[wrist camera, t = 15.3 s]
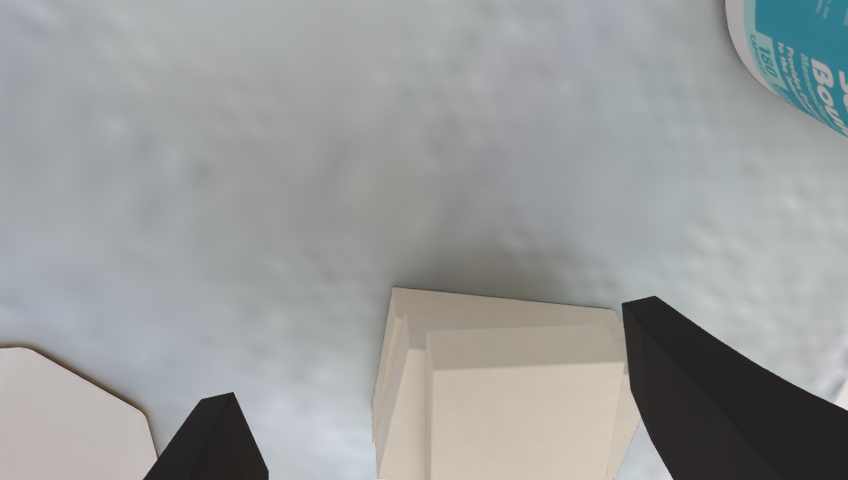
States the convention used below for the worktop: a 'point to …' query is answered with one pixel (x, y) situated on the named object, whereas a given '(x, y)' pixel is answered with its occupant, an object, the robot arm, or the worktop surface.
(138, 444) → the cup
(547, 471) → the beige rectangular block
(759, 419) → the robot arm
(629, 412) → the beige block
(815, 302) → the worktop surface
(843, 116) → the pill bottle
